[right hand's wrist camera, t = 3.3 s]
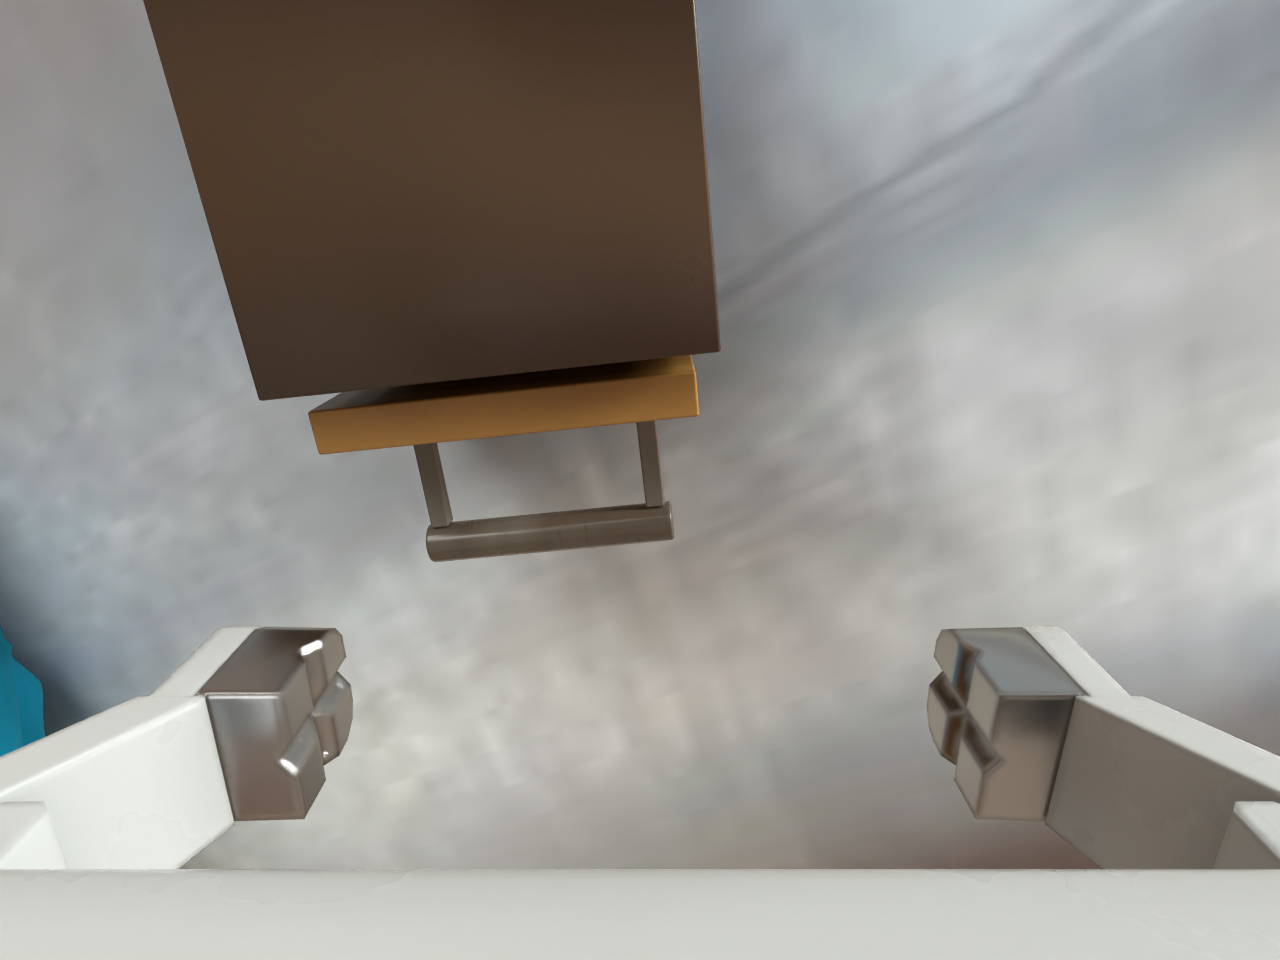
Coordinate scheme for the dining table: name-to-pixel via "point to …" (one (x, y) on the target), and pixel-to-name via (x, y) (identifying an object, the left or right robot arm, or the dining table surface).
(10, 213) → the dining table surface
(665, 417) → the drawer
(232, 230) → the cabinet
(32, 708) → the toy
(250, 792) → the right robot arm
